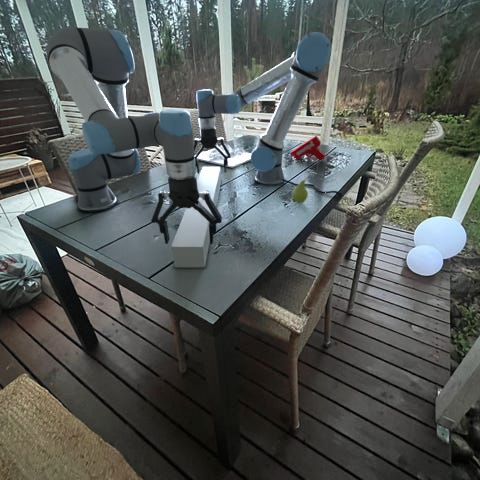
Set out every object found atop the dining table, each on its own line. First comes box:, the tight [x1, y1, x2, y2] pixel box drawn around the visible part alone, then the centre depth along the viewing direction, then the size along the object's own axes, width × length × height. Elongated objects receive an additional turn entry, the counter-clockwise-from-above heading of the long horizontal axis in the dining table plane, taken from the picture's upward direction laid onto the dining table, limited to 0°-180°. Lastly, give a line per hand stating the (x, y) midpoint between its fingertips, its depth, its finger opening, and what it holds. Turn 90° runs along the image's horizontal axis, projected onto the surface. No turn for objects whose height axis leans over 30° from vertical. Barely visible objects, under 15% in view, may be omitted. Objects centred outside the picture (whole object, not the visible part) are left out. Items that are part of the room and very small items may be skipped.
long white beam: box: [170, 166, 222, 268], centre depth 112 cm, size 74×9×8 cm, turn 179°
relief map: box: [194, 144, 251, 169], centre depth 179 cm, size 27×35×5 cm
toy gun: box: [290, 135, 326, 163], centre depth 173 cm, size 18×4×15 cm
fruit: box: [291, 174, 311, 204], centre depth 118 cm, size 7×8×12 cm
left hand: (189, 241), depth 83 cm, fingers open, 13 cm apart
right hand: (212, 172), depth 137 cm, fingers open, 13 cm apart
